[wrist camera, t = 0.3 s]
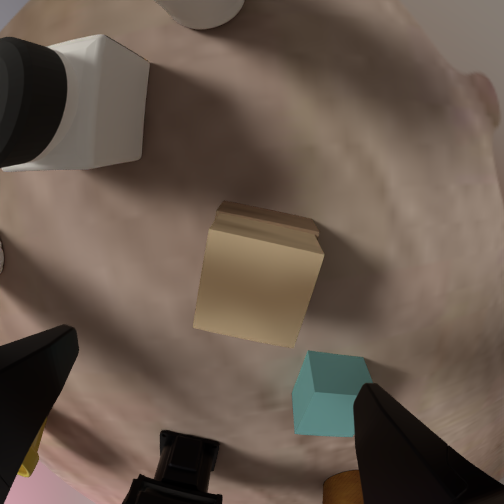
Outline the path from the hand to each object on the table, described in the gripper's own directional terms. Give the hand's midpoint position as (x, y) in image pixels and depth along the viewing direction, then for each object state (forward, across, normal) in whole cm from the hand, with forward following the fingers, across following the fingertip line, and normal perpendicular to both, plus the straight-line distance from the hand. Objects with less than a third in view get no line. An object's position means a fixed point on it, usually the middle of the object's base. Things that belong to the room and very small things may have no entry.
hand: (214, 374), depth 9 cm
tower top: (+11, -1, +1) cm, 11 cm away
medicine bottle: (+14, +12, -8) cm, 20 cm away
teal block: (+14, -9, +11) cm, 20 cm away
